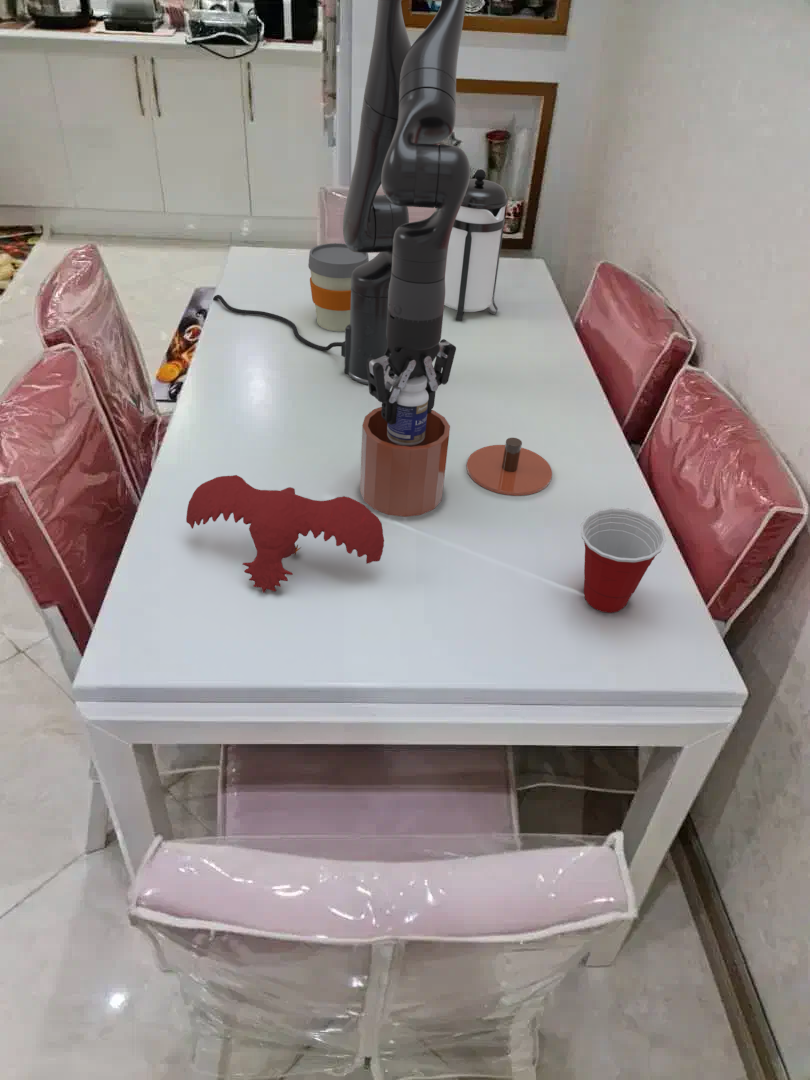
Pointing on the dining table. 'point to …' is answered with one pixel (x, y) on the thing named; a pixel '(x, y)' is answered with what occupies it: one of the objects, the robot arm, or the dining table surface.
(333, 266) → the reusable coffee cup
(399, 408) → the pill bottle
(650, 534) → the plastic cup
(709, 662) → the dining table surface
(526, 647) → the dining table surface
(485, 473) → the lid
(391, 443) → the pot
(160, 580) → the dining table surface
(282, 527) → the decorative bird sculpture
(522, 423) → the dining table surface
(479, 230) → the coffee press
